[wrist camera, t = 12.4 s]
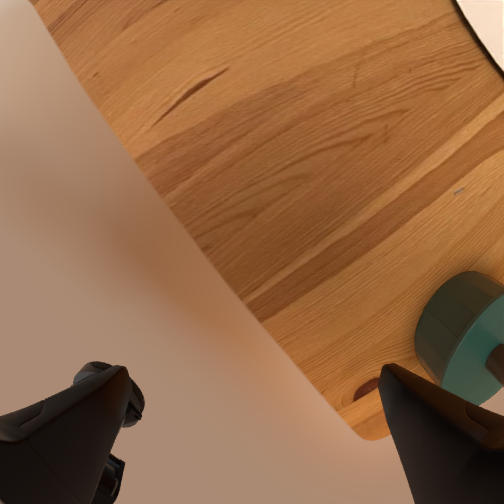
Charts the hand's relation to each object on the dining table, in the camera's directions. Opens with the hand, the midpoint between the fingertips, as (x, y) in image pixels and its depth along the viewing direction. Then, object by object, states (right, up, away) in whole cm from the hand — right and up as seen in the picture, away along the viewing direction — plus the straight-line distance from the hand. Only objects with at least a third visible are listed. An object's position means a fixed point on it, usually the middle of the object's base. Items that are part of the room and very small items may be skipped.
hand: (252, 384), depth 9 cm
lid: (+19, -4, +6) cm, 20 cm away
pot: (+19, -2, +12) cm, 23 cm away
